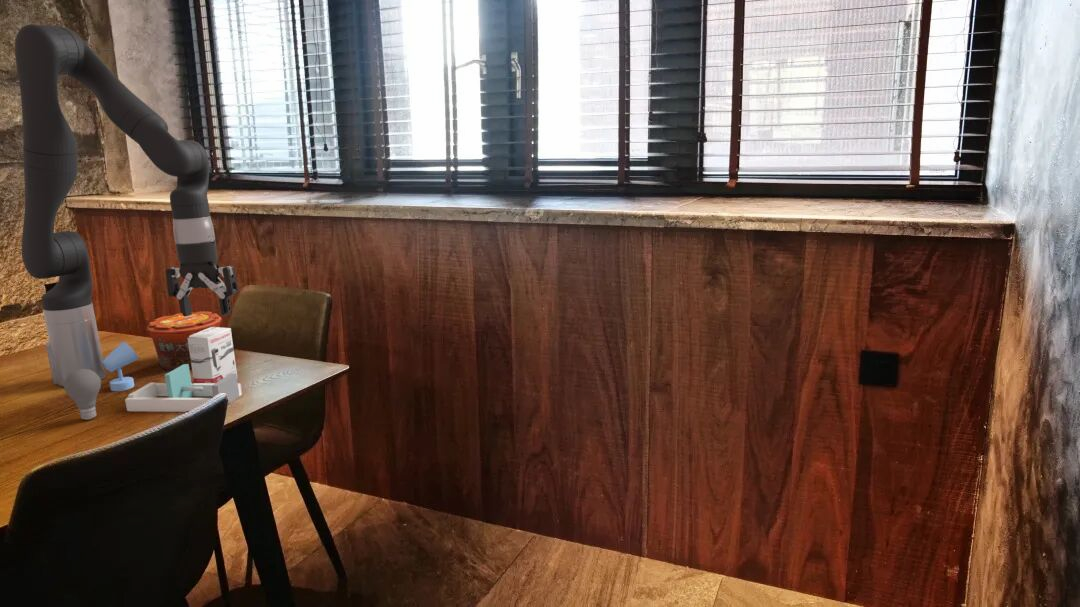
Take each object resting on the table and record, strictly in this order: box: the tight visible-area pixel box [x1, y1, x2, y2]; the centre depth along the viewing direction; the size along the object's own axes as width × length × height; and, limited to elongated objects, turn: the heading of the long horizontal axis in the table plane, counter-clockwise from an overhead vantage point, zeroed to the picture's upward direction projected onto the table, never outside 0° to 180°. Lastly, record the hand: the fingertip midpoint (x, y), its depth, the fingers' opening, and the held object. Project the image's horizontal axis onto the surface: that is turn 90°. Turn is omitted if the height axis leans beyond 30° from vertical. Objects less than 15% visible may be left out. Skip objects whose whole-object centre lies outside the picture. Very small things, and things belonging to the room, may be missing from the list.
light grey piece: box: [124, 373, 243, 413], centre depth 147 cm, size 19×9×5 cm, turn 84°
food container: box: [146, 310, 223, 371], centre depth 173 cm, size 16×16×11 cm
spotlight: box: [102, 340, 140, 392], centre depth 157 cm, size 5×10×7 cm
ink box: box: [188, 326, 238, 383], centre depth 156 cm, size 9×5×12 cm, turn 168°
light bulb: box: [63, 369, 102, 421], centre depth 140 cm, size 6×6×10 cm
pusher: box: [164, 364, 203, 398], centre depth 146 cm, size 5×7×7 cm
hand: (206, 315), depth 154 cm, fingers open, 8 cm apart
